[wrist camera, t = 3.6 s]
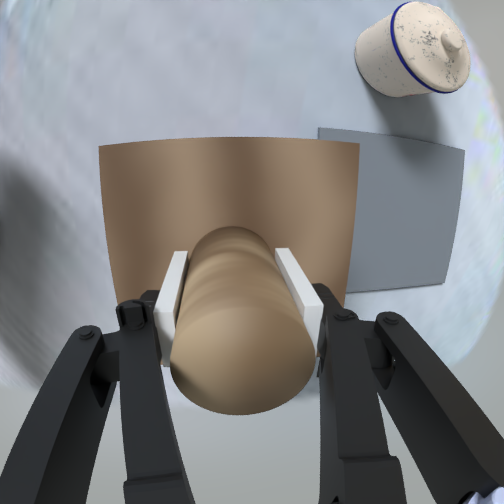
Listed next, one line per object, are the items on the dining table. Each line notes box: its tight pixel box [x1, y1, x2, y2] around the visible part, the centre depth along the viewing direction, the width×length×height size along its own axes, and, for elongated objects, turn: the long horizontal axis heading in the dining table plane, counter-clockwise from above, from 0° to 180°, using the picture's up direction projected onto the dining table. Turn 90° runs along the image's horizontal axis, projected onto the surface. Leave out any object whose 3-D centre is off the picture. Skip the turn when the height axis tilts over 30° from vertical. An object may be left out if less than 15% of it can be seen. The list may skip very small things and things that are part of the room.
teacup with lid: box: [355, 2, 470, 97], centre depth 20 cm, size 12×9×12 cm
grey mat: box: [318, 128, 465, 292], centre depth 32 cm, size 20×18×1 cm
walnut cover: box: [99, 137, 360, 415], centre depth 15 cm, size 15×15×10 cm
